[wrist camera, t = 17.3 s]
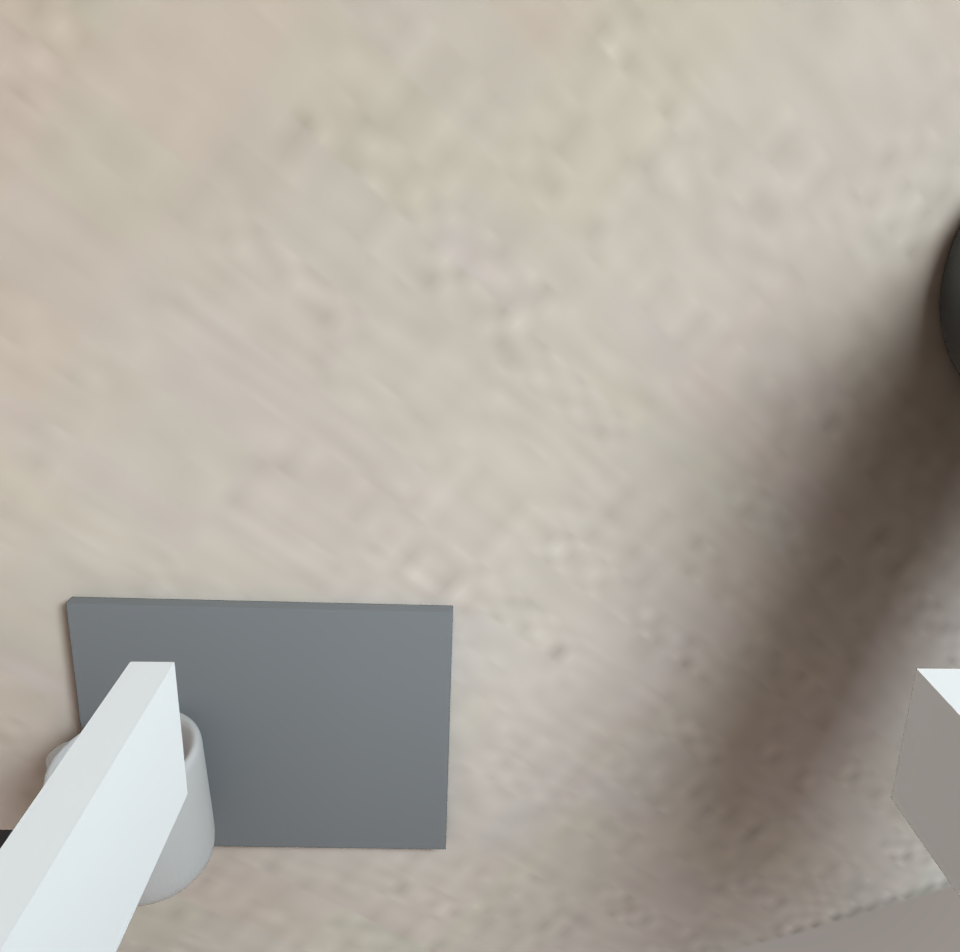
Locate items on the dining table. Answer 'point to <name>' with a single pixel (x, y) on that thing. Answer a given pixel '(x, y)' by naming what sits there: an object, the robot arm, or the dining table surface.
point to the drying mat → (295, 710)
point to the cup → (191, 828)
